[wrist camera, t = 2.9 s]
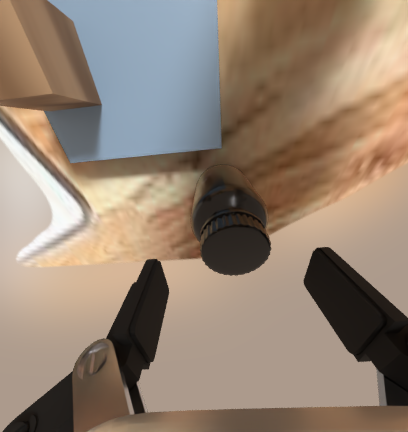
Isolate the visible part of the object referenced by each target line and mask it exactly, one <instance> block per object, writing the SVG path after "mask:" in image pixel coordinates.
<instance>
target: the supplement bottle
mask: <svg viewBox="0 0 408 432" xmlns="http://www.w3.org/2000/svg"><path fill="white" fill-rule="evenodd" d="M267 224H268V211H267V208H266V205H265V203H264V201H263V200H262V198H261V197H260V195H259V194H258V193H257V191H256V190H255V189H254V187H253V186H252V185H251V183H250V182H249V181H248V179H247V178H246V177H245V176H244V174H243V173H242V172H241V171H240V170H238V169H237V168H235V167H233V166H230V165H216V166H213V167H211V168H209V169H207V170H206V171H205V172H204V173H203V174H202V175H201V176H200V178H199V180H198V182H197V186H196V191H195V196H194V201H193V207H192V212H191V228H192V231H193V233H194V235H195V237H196V238H197V240H198V241H199V242H200V251H201V257H202V260H203V261H204V262H205V264H206V265H207V266H208V267H209V268H210V269H212V270H213V271H215V272H218V273H220V274H224V275H242V274H245V273H249V272H251V271H254V270H255V269H257V268H259V267H260V266H261V265H262V264H264V262H265V261H266V260H267V259H268V256H269V255H270V250H271V247H270V245H271V242H270V240H269V236H268V234H267V232H266V227H267Z"/></svg>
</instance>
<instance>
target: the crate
mask: <svg viewBox="0 0 408 432" xmlns="http://www.w3.org/2000/svg"><path fill="white" fill-rule="evenodd" d="M98 105H102V103H101V100H100V98H99V95H98V92H97V89H96V86H95V83H94V80H93V77H92V74H91V72H90V69H89V66H88V63H87V60H86V57H85V54H84V51H83V48H82V46H81V43H80V40H79V37H78V34H77V31H76V28H75V25H74V22H73V21H72V20H71V19H70V18H69V17H67V16H66V15H65V14H64V13H63V12H61V11H60V10H59V9H58V8H56V7H55V6H54V5H53V4H52V3H50V2H49V1H48V0H0V106H7V107H16V108H25V109H33V110H42V111H57V110H65V109H73V108H82V107H90V106H98Z"/></svg>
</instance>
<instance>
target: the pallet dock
mask: <svg viewBox="0 0 408 432" xmlns="http://www.w3.org/2000/svg"><path fill="white" fill-rule="evenodd" d="M48 1H49V2H50V3H52V4H53V5H54V6H55V7H56V8H58V9H59V10H60V11H61V12H63V13H64V14H65V15H66V16H67V17H69V18H70V19H71V20H72V21H73V22H74V25H75V28H76V31H77V34H78V37H79V40H80V43H81V46H82V48H83V51H84V54H85V57H86V60H87V63H88V66H89V69H90V72H91V74H92V77H93V80H94V83H95V86H96V89H97V92H98V95H99V98H100V100H101V103H102V105H98V106H90V107H82V108H73V109H65V110H57V111H44V112H45V114H46V116H47V118H48V120H49V122H50V124H51V126H52V128H53V130H54V132H55V134H56V136H57V138H58V140H59V142H60V144H61V146H62V148H63V150H64V152H65V153H66V155H67V157H68V159H69V161H70V163H76V162H86V161H97V160H107V159H117V158H127V157H137V156H147V155H157V154H167V153H177V152H187V151H197V150H207V149H217V148H222V143H221V112H220V81H219V49H218V18H217V0H48Z"/></svg>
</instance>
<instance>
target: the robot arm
mask: <svg viewBox="0 0 408 432" xmlns="http://www.w3.org/2000/svg"><path fill="white" fill-rule="evenodd" d="M304 285H305V287H306V289H307V290H308V292H309V293H310V295H311V296H312V298H313V299H314V301H315V302H316V304H317V305H318V307H319V308H320V310H321V311H322V313H323V314H324V316H325V317H326V319H327V320H328V321H329V323H330V325H331V326H332V328H333V329H334V331H335V332H336V334H337V335H338V337H339V338H340V340H341V341H342V343H343V344H344V346H345V347H346V349H347V350H348V351H349V352H350V353H351V354H353V355H354V356H355V358H356V359H357V361H358V362H364V361H372V363H373V364H374V365H375V367H376V370H377V381H378V392H379V405H380V406H359V407H358V406H356V407H307V408H265V409H264V408H262V409H224V410H192V411H191V410H189V411H169V412H150V413H148V411H147V407H146V404H145V401H144V398H143V395H142V392H141V388H140V385H139V382H138V381H139V378H140V375H141V371H142V369H149V366H150V362H153V361H154V358H155V354H156V349H157V345H158V340H159V336H160V331H161V327H162V322H163V318H164V313H165V309H166V304H167V300H168V295H169V288H168V285H167V281H166V278H165V275H164V272H163V269H162V265H161V262H160V261H158V260H157V259H149V260H146V262H145V264H144V266H143V269H142V271H141V273H140V275H139V277H138V280H137V282H135V283H134V284H132V286H131V288H130V290H129V292H128V294H127V296H126V298H125V300H124V302H123V305H122V307H121V309H120V311H119V313H118V315H117V317H116V319H115V321H114V323H113V325H112V327H111V329H110V332H109V334H108V336H107V338H106V339H100V340H97V341H95V342H94V343H92V344H91V345H90V346H88V347H87V348H86V349H85V350H84V351H83V353H82V354H81V355H80V357H79V358H78V360H77V361H76V363H75V366H74V369H73V371H72V372H71V373H70V374H69V375H68V376H66V377H65V378H64V379H63V380H61V381H60V382H59V383H58V384H57V385H55V386H54V387H53V388H52V389H50V390H49V391H48V392H47V393H46V394H44V396H42V397H41V398H39V399H38V400H37V401H36V402H35V403H33V404H32V405H31V406H30V407H28V408H27V409H26V410H25V411H24V412H22V413H21V414H20V415H19V416H17V418H15V419H14V420H13V421H12V422H11V423H10V424H9V425H8V426H7V427H6V428H5V429H4V430H3V432H408V318H407V317H406V316H405V315H404V314H403V313H402V312H401V311H400V310H398V309H397V308H396V307H395V306H394V305H393V304H392V303H391V302H389V300H387V299H386V298H385V297H384V296H383V295H382V294H381V293H380V292H378V291H377V290H376V289H375V288H374V287H373V286H372V285H371V284H370V283H369V282H367V281H366V280H365V279H364V278H363V277H362V276H361V275H360V274H358V273H357V272H356V271H355V270H354V269H353V268H352V267H350V265H349V264H347V263H346V262H345V261H344V260H343V259H342V258H341V257H340V256H338V255H337V254H336V253H335V252H334V251H333V250H332V249H331V248H329V247H322V248H316V249H315V251H313V253H312V256H311V259H310V263H309V266H308V269H307V272H306V275H305V278H304Z"/></svg>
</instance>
